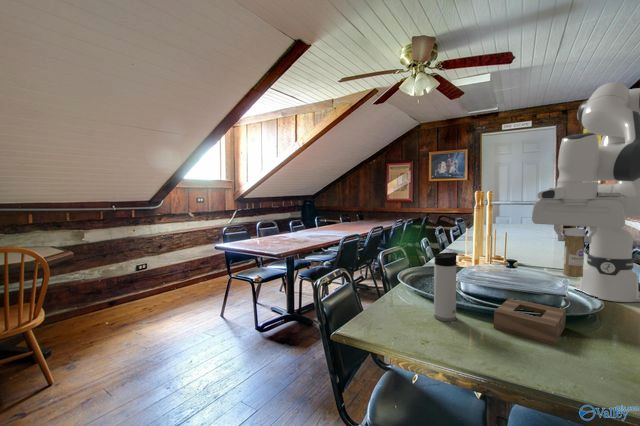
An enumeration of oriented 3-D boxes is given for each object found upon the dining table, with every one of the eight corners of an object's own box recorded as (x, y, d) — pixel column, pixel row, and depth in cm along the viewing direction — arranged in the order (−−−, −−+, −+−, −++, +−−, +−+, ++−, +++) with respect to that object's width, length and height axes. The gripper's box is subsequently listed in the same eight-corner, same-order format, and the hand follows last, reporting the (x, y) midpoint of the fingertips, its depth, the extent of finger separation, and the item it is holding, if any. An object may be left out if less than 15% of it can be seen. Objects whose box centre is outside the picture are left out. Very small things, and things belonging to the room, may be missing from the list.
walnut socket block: (509, 313, 99) (509, 297, 99) (565, 327, 89) (565, 309, 89) (493, 328, 90) (494, 311, 89) (554, 345, 80) (555, 326, 79)
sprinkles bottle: (576, 278, 87) (579, 230, 86) (559, 274, 91) (561, 228, 90) (587, 276, 89) (589, 229, 88) (569, 272, 93) (571, 227, 92)
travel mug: (460, 321, 94) (461, 255, 93) (438, 321, 95) (438, 255, 93) (452, 313, 101) (452, 250, 99) (431, 313, 101) (431, 251, 99)
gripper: (629, 192, 83) (626, 244, 84) (536, 192, 98) (534, 237, 99) (628, 192, 79) (624, 248, 80) (531, 192, 93) (529, 239, 94)
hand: (574, 242), depth 89 cm, fingers closed on sprinkles bottle, 4 cm apart
